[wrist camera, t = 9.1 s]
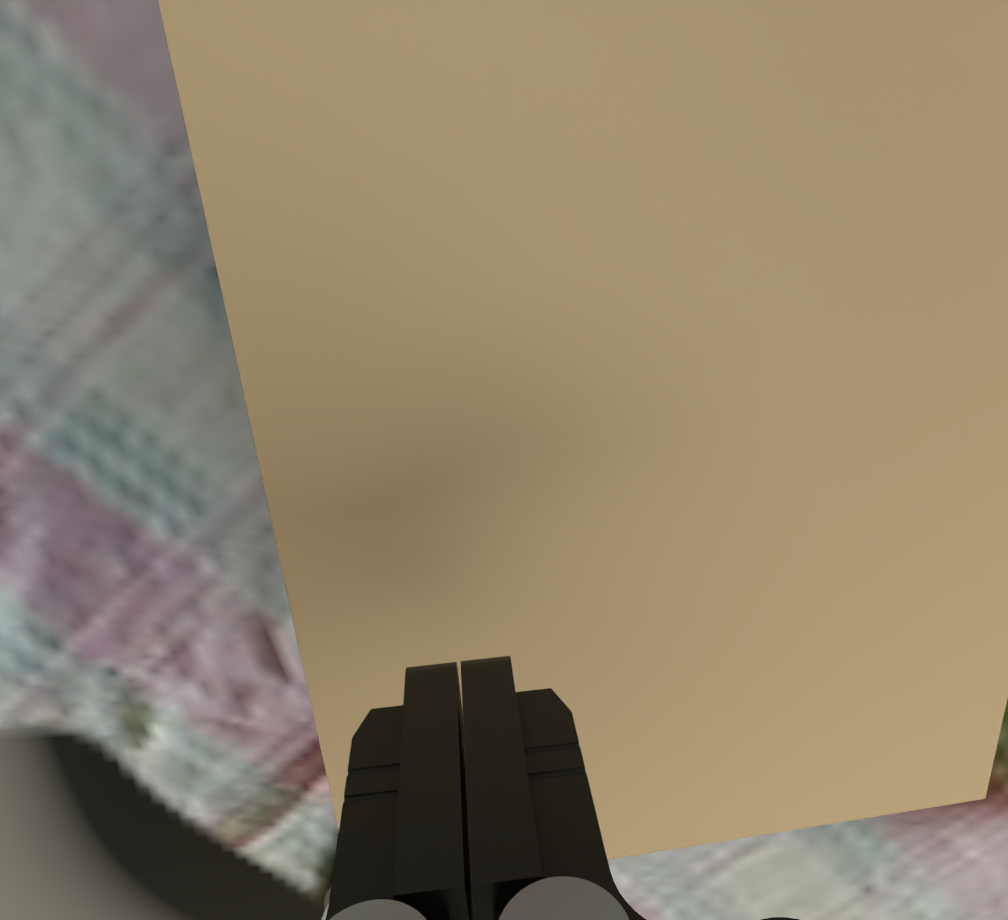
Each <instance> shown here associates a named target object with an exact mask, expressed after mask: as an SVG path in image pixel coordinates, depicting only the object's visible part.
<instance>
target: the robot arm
mask: <svg viewBox="0 0 1008 920" xmlns="http://www.w3.org/2000/svg"><path fill="white" fill-rule="evenodd" d="M461 683H462V700H461V692H460V683H459V675H458V667H457V662H450V663H441V664H433V665H424V666H415V667H407V668H406V671H405V685H404V702H403V705H401V706H392V707H383V708H374V709H371V710H370V711H369V713H368V714H367V716H366V717H365V719H364V720H363V722H362V723H361V725H360V726H359V728H358V729H357V731H356V732H355V734H354V736H353V737H352V742H351V749H350V756H349V763H348V776H347V777H346V785H345V792H344V803H343V806H342V813H341V820H340V827H339V834H338V841H337V848H336V856H335V863H334V870H333V877H332V884H331V891H330V898H329V905H328V910H327V915H326V919H325V920H646V919H644V918H643V917H642V916H641V915H639V914H638V913H637V912H635V911H634V910H633V909H632V907H631V906H630V905H629V904H628V903H627V902H626V901H625V900H624V898H623V897H622V895H621V894H620V893H619V891H618V889H617V887H616V885H615V883H614V881H613V878H612V875H611V872H610V869H609V865H608V861H607V856H606V852H605V848H604V844H603V840H602V836H601V831H600V827H599V823H598V819H597V815H596V811H595V806H594V802H593V798H592V794H591V790H590V786H589V781H588V777H587V773H586V771H585V765H584V761H583V756H582V752H581V748H580V746H579V740H578V736H577V731H576V727H575V723H574V719H573V715H572V712H571V710H570V709H569V708H568V707H567V706H566V705H565V703H564V702H563V701H562V700H561V699H560V698H559V697H558V695H557V694H556V693H555V692H554V691H553V690H552V689H551V688H547V689H538V690H529V691H521V692H516V691H515V684H514V677H513V670H512V663H511V657H510V656H502V657H493V658H484V659H475V660H466V661H461ZM462 704H463V708H462ZM762 920H798V919H792V918H785V917H778V918H767V919H762Z"/></svg>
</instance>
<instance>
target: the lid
mask: <svg viewBox="0 0 1008 920" xmlns="http://www.w3.org/2000/svg"><path fill="white" fill-rule="evenodd" d="M158 1H159V6H160V10H161V15H162V20H163V24H164V29H165V33H166V38H167V43H168V47H169V52H170V56H171V61H172V66H173V70H174V75H175V79H176V84H177V89H178V93H179V98H180V102H181V107H182V112H183V116H184V121H185V125H186V130H187V135H188V139H189V144H190V148H191V153H192V158H193V162H194V167H195V172H196V176H197V181H198V185H199V190H200V195H201V199H202V204H203V208H204V213H205V218H206V222H207V227H208V231H209V236H210V241H211V245H212V250H213V254H214V259H215V264H216V268H217V273H218V277H219V282H220V287H221V291H222V296H223V300H224V305H225V310H226V314H227V319H228V323H229V328H230V333H231V337H232V342H233V346H234V351H235V356H236V360H237V365H238V369H239V374H240V379H241V383H242V388H243V392H244V397H245V402H246V406H247V411H248V415H249V420H250V425H251V429H252V434H253V438H254V443H255V448H256V452H257V457H258V462H259V466H260V471H261V475H262V480H263V485H264V489H265V494H266V498H267V503H268V508H269V512H270V517H271V521H272V526H273V531H274V535H275V540H276V544H277V549H278V554H279V558H280V563H281V567H282V572H283V577H284V581H285V586H286V590H287V595H288V600H289V604H290V609H291V613H292V618H293V623H294V627H295V632H296V636H297V641H298V646H299V650H300V655H301V659H302V664H303V669H304V673H305V678H306V682H307V687H308V692H309V696H310V701H311V705H312V710H313V715H314V719H315V724H316V728H317V733H318V738H319V742H320V747H321V752H322V756H323V761H324V765H325V770H326V775H327V779H328V784H329V788H330V793H331V798H332V802H333V807H334V811H335V816H336V821H337V825H338V830H339V827H340V820H341V813H342V806H343V803H344V792H345V785H346V777H347V776H348V763H349V756H350V749H351V742H352V737H353V736H354V734H355V732H356V731H357V729H358V728H359V726H360V725H361V723H362V722H363V720H364V719H365V717H366V716H367V714H368V713H369V711H370V710H371V709H374V708H383V707H392V706H401V705H403V702H404V685H405V671H406V668H407V667H415V666H424V665H433V664H441V663H450V662H457V667H458V675H459V683H460V692H461V700H462V683H461V661H466V660H475V659H484V658H493V657H502V656H510V657H511V663H512V670H513V677H514V684H515V691H516V692H521V691H529V690H538V689H547V688H551V689H552V690H553V691H554V692H555V693H556V694H557V695H558V697H559V698H560V699H561V700H562V701H563V702H564V703H565V705H566V706H567V707H568V708H569V709H570V710H571V712H572V715H573V719H574V723H575V727H576V731H577V736H578V740H579V746H580V748H581V752H582V756H583V761H584V765H585V771H586V773H587V777H588V781H589V786H590V790H591V794H592V798H593V802H594V806H595V811H596V815H597V819H598V823H599V827H600V831H601V836H602V840H603V844H604V848H605V852H606V856H607V860H609V859H615V858H621V857H628V856H634V855H640V854H646V853H652V852H658V851H665V850H671V849H677V848H683V847H689V846H696V845H702V844H708V843H714V842H720V841H726V840H733V839H739V838H745V837H751V836H757V835H763V834H770V833H776V832H782V831H788V830H794V829H801V828H807V827H813V826H819V825H825V824H831V823H838V822H844V821H850V820H856V819H862V818H869V817H875V816H881V815H887V814H893V813H899V812H906V811H912V810H918V809H924V808H930V807H937V806H943V805H949V804H955V803H961V802H967V801H974V800H980V799H985V797H986V793H987V788H988V784H989V779H990V775H991V770H992V766H993V761H994V757H995V752H996V748H997V743H998V738H999V734H1000V729H1001V725H1002V720H1003V716H1004V711H1005V707H1006V702H1007V698H1008V0H158ZM462 708H463V704H462Z"/></svg>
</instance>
